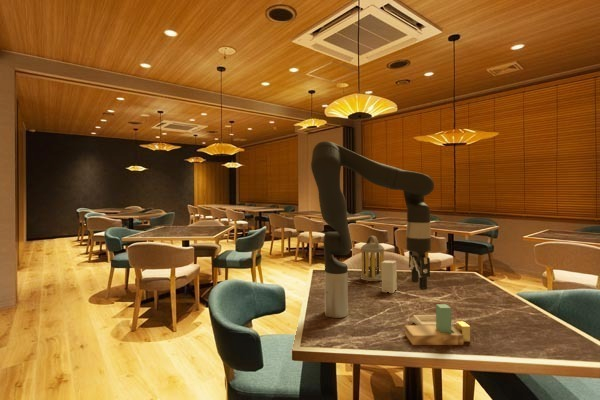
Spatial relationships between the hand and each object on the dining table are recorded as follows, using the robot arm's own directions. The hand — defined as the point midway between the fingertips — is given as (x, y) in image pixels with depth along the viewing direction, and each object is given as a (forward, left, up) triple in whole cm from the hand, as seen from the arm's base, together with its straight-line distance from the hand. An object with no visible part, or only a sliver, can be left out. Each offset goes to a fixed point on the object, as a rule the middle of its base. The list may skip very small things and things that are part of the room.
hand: (418, 285), depth 105 cm
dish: (+9, +12, -18) cm, 23 cm away
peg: (+9, +1, -18) cm, 20 cm away
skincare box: (+6, +57, -18) cm, 60 cm away
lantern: (+3, +81, -18) cm, 83 cm away
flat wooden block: (+5, +1, -18) cm, 19 cm away
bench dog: (+15, +1, -18) cm, 23 cm away
